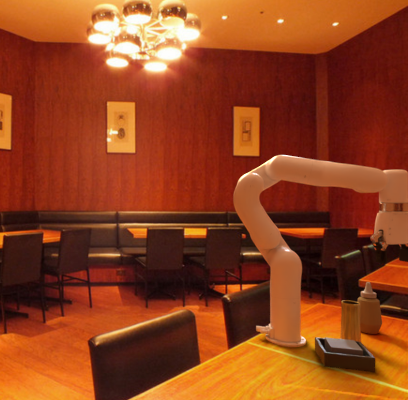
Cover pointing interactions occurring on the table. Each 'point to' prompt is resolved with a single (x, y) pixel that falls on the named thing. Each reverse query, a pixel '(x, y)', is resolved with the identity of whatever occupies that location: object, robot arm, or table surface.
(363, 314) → the squeeze bottle
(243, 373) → the table surface
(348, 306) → the vase
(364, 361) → the crate
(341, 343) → the block
